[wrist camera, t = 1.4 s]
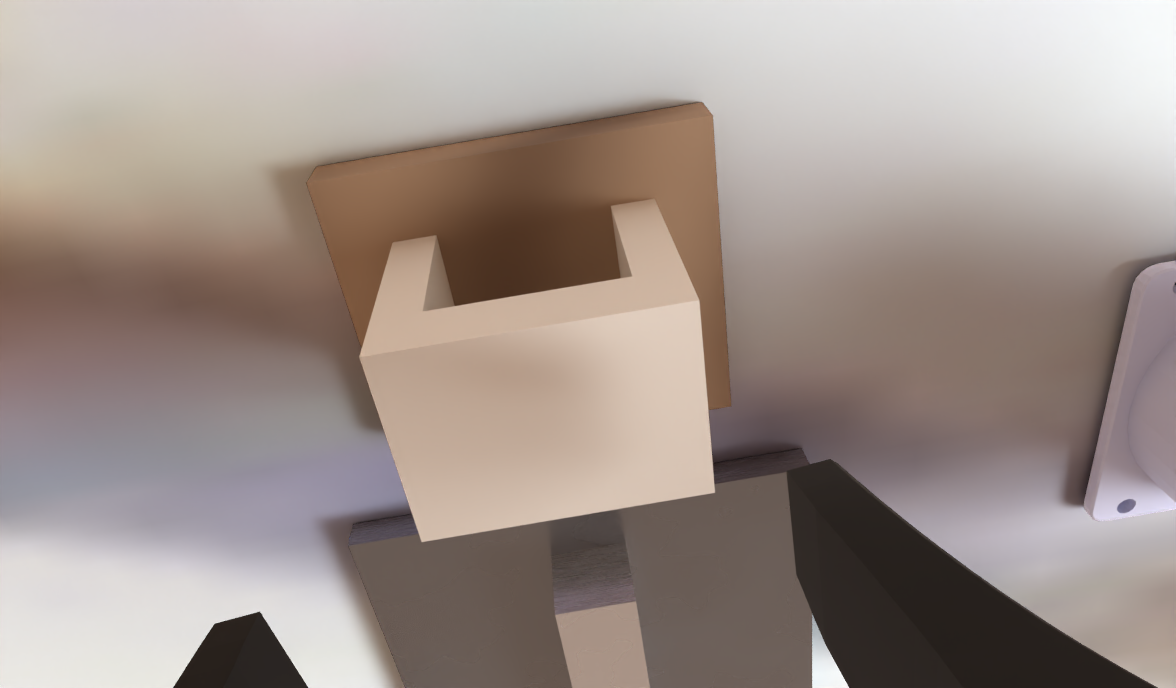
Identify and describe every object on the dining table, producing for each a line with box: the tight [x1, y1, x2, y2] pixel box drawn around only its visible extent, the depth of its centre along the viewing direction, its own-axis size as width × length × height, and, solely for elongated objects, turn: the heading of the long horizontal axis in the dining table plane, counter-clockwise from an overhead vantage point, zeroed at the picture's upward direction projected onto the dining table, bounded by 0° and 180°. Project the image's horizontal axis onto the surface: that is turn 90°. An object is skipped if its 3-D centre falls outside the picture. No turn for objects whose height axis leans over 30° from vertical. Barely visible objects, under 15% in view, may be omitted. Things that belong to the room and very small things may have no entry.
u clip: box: [359, 199, 715, 542], centre depth 16 cm, size 5×4×4 cm
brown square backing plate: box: [306, 102, 731, 410], centre depth 18 cm, size 8×7×1 cm
